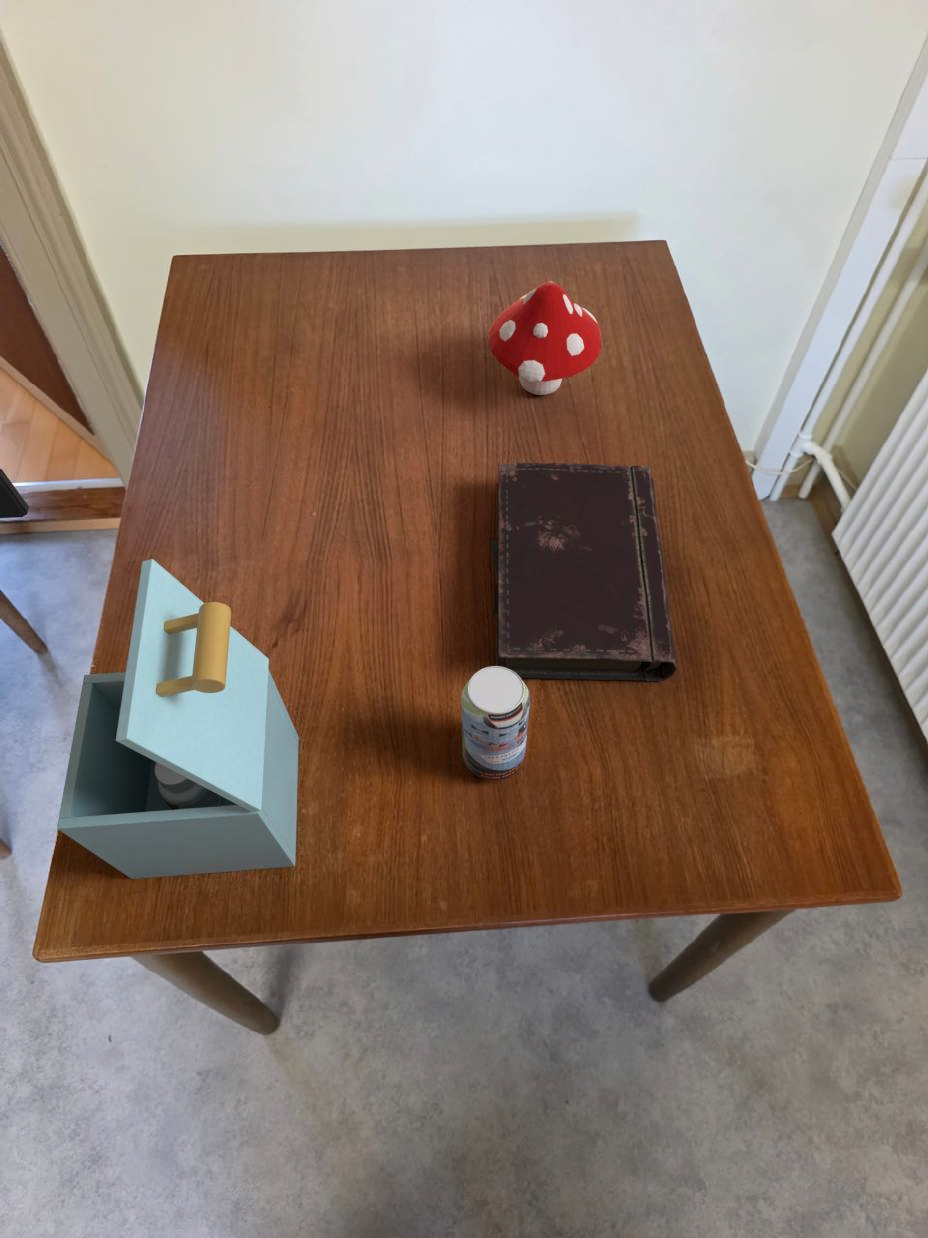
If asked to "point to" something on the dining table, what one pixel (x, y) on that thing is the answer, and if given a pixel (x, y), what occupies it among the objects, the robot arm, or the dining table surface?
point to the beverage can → (494, 723)
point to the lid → (194, 691)
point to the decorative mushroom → (545, 338)
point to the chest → (144, 823)
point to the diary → (580, 573)
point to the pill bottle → (183, 791)
